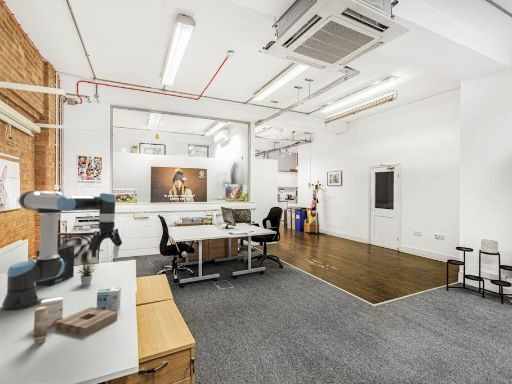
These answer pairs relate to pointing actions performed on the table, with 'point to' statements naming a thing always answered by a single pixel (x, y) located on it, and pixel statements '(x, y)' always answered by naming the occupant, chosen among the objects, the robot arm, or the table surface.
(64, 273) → the headset box
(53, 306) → the ink box
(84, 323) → the board
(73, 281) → the table surface
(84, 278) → the house plant
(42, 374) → the table surface
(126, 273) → the table surface
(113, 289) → the light bulb box
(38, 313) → the peg
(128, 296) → the table surface
